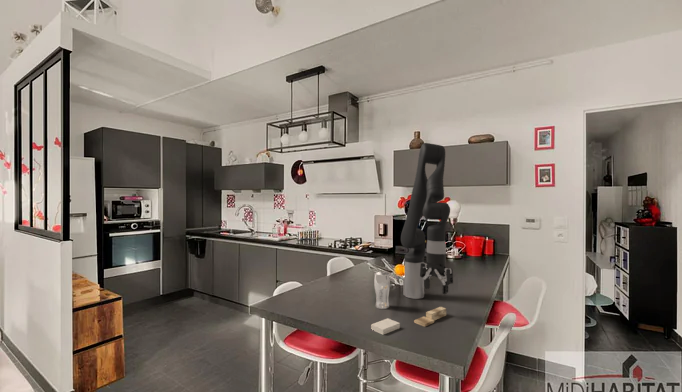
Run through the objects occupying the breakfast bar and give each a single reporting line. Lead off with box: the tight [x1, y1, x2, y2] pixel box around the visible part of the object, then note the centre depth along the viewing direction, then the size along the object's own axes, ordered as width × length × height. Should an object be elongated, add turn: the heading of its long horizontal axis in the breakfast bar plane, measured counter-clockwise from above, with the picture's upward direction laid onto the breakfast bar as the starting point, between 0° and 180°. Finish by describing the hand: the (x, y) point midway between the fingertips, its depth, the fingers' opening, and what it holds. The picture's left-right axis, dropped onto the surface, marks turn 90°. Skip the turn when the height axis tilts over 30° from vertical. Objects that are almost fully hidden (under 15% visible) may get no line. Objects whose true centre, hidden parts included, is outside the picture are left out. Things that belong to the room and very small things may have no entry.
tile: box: [370, 317, 401, 335], centre depth 115 cm, size 6×2×9 cm
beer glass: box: [373, 271, 391, 310], centre depth 139 cm, size 7×7×15 cm
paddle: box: [413, 306, 447, 327], centre depth 123 cm, size 16×5×3 cm, turn 129°
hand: (435, 291), depth 126 cm, fingers open, 8 cm apart
